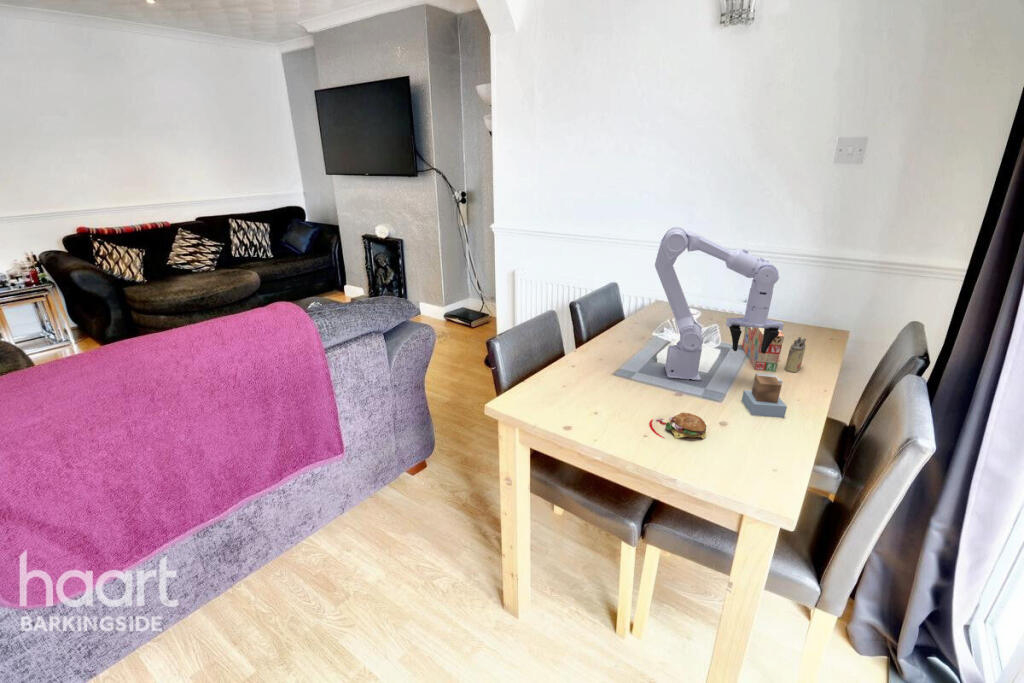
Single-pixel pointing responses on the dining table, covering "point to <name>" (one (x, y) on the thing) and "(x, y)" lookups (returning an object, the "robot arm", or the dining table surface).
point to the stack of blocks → (753, 349)
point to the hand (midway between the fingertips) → (748, 351)
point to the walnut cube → (766, 389)
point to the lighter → (795, 355)
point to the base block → (763, 406)
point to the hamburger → (684, 426)
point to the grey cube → (768, 376)
